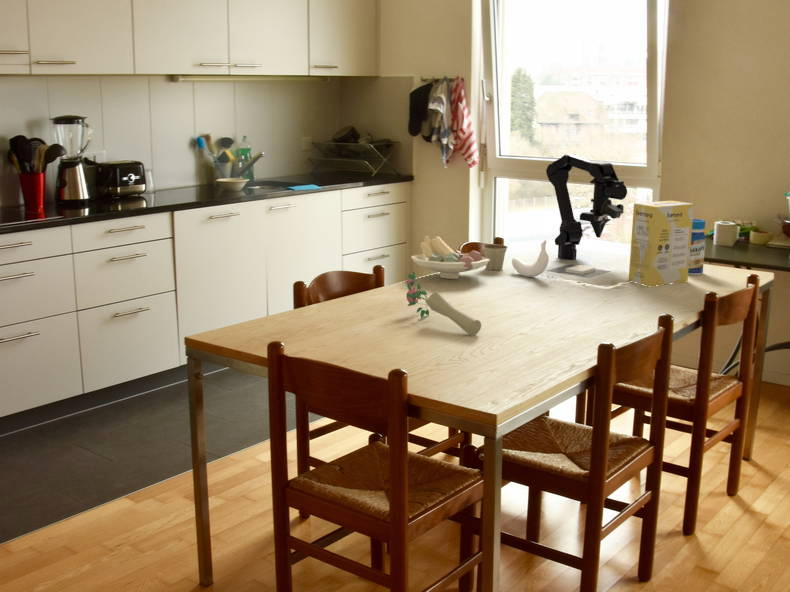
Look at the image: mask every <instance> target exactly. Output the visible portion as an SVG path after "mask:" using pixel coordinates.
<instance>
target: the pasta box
mask: <svg viewBox="0 0 790 592" xmlns="http://www.w3.org/2000/svg"><path fill="white" fill-rule="evenodd" d="M694 208H695V203H692V202H684V201H677V200H661V201H649V202H647V201H646V202H635V203H633V213H632V225H631V226H632V228H631V240H630V241H631V243H630V256H629V268H628V269H629V270H628V282H629V281H633V282H637V283H640V284H644V285H647V286H646V287H648V286H655V287H657V286H656V285H662V284H669V285H671V284H670V283H676V284H678V283H677V282H683V283H686V282H685V281H687V282H688V279H689V275H688V270H689V258H690V246H691V235H692V223H693V219H694ZM633 282H632V283H633ZM637 283H636V284H637ZM640 284H639V285H640ZM644 285H643V286H644ZM662 286H663V285H662Z"/></svg>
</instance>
